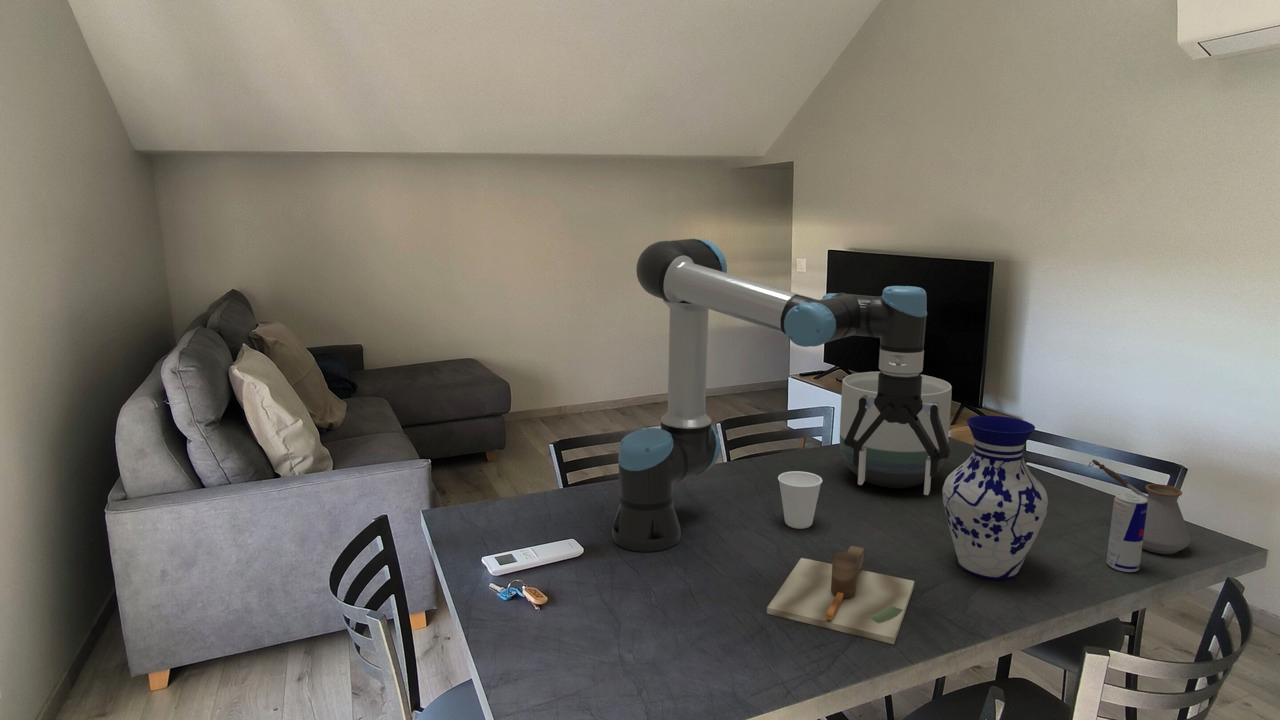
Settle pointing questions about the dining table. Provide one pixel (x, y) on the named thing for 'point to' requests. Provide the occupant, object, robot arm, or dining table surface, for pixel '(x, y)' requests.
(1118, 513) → the beverage can
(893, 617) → the cream flat square slab
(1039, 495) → the vase
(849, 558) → the wooden mallet
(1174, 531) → the coffee pot
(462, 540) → the dining table surface
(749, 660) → the dining table surface
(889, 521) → the dining table surface
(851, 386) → the planter
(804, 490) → the cup
